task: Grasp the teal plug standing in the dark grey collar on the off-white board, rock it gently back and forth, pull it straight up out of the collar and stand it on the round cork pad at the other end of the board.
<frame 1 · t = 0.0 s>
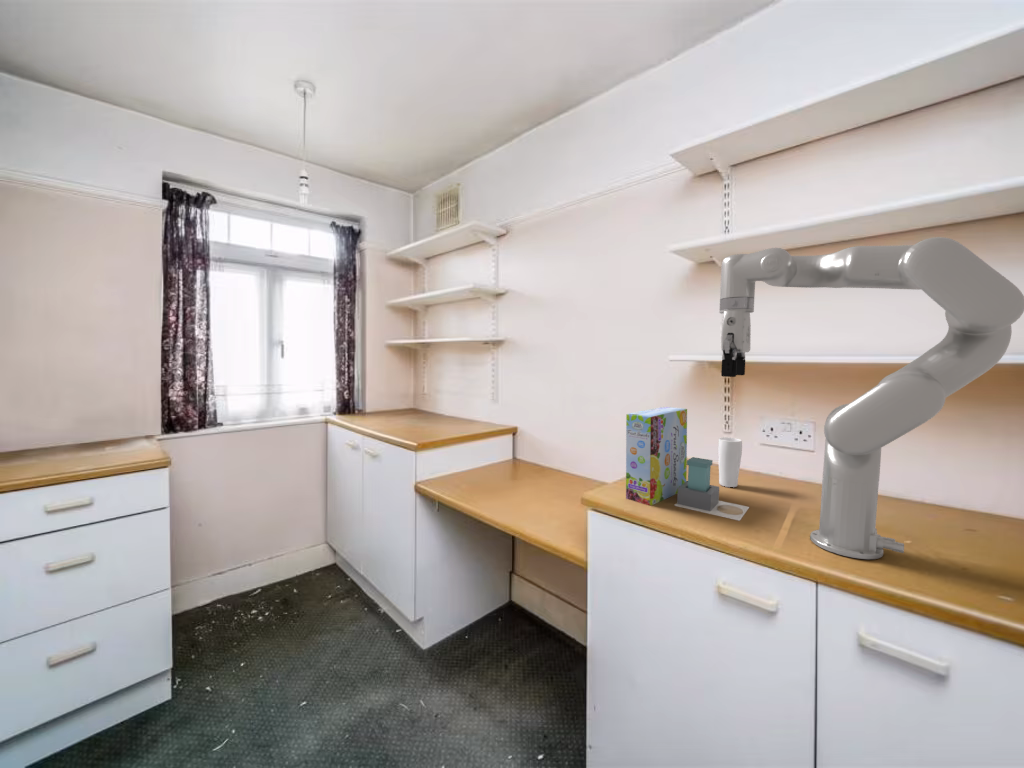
hand: (733, 375, 105), 37 cm above the table, tool pointing down, fingers open, 9 cm apart
drinking glass: (728, 486, 135), on the table
snack box: (656, 497, 124), on the table
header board: (711, 509, 114), on the table
plug: (698, 503, 116), point 1 cm above the table, touching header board
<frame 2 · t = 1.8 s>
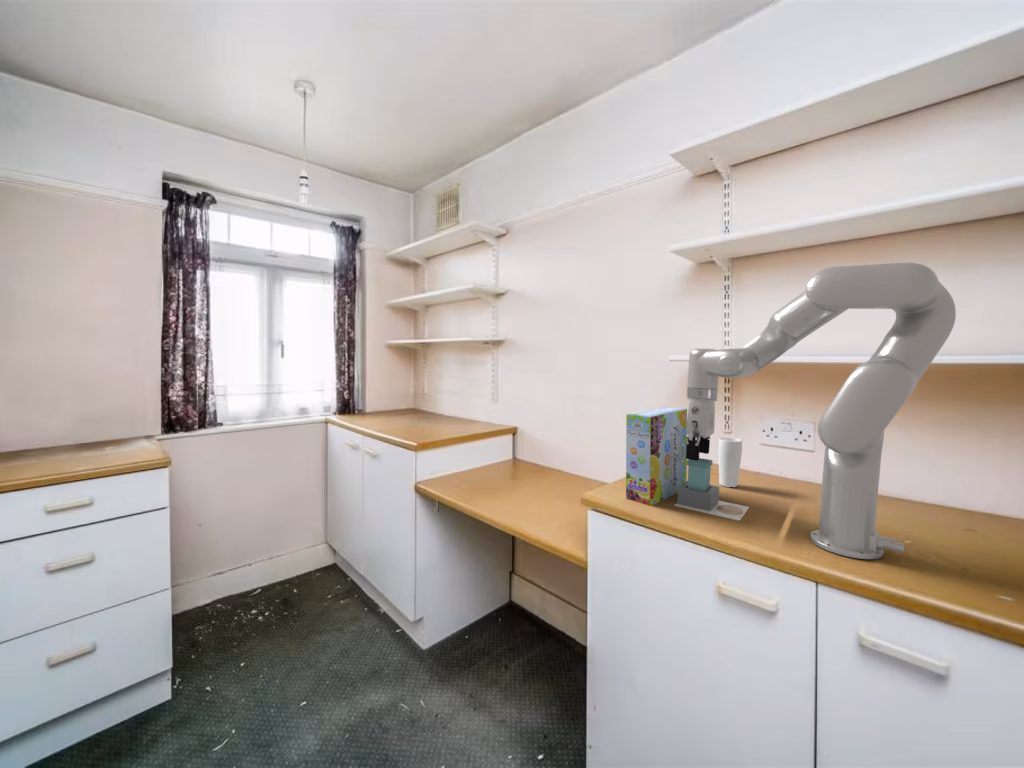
hand: (697, 456, 115), 14 cm above the table, tool pointing down, fingers open, 9 cm apart
nothing on the table moved.
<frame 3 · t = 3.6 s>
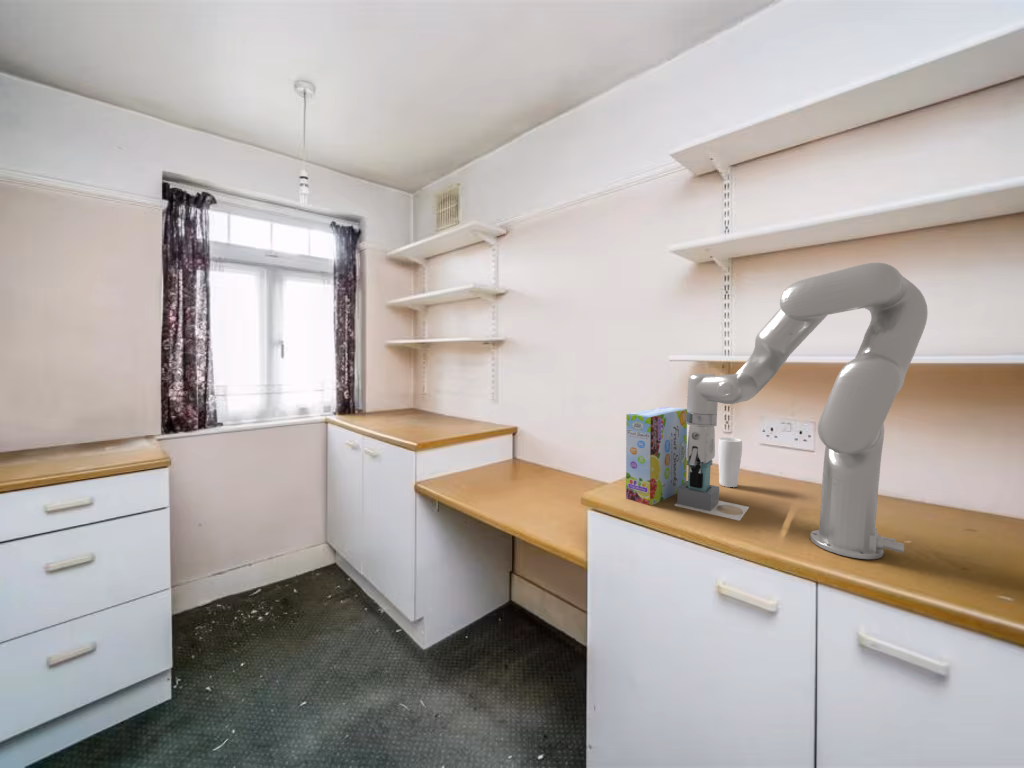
hand: (698, 484, 115), 6 cm above the table, tool pointing down, fingers closed on plug, 4 cm apart
plug: (698, 503, 116), point 1 cm above the table, touching gripper, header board
everything else where it was.
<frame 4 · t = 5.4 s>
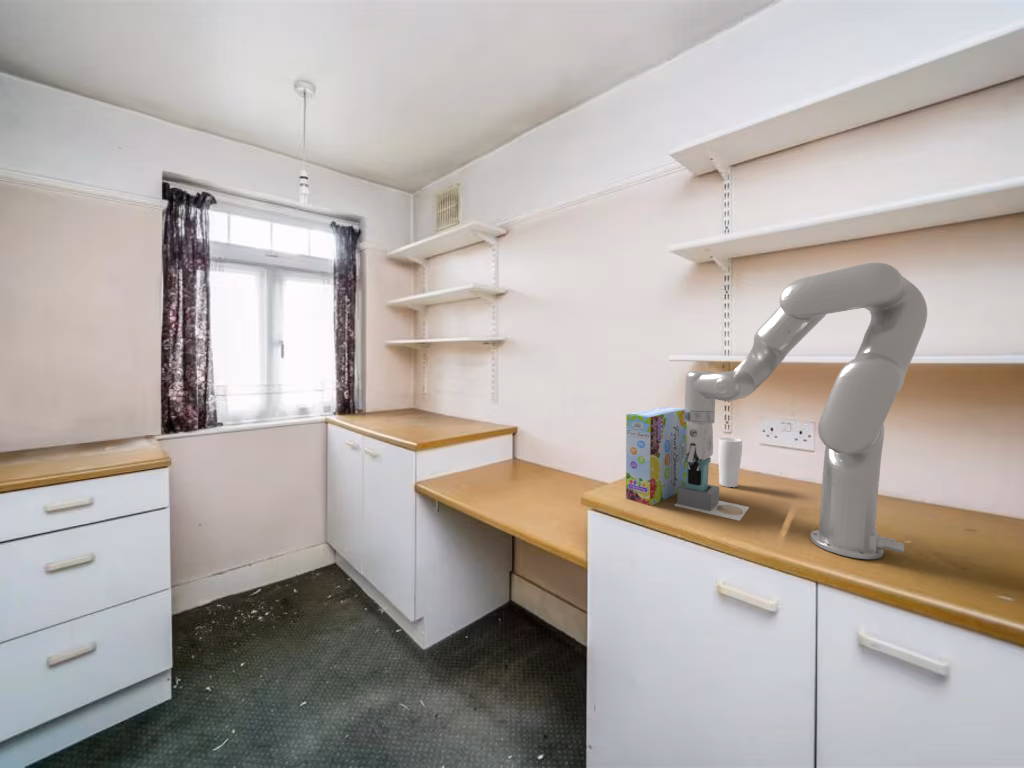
hand: (697, 481, 116), 7 cm above the table, tool pointing down, fingers closed on plug, 4 cm apart
plug: (696, 500, 116), point 2 cm above the table, touching gripper
everything else where it was.
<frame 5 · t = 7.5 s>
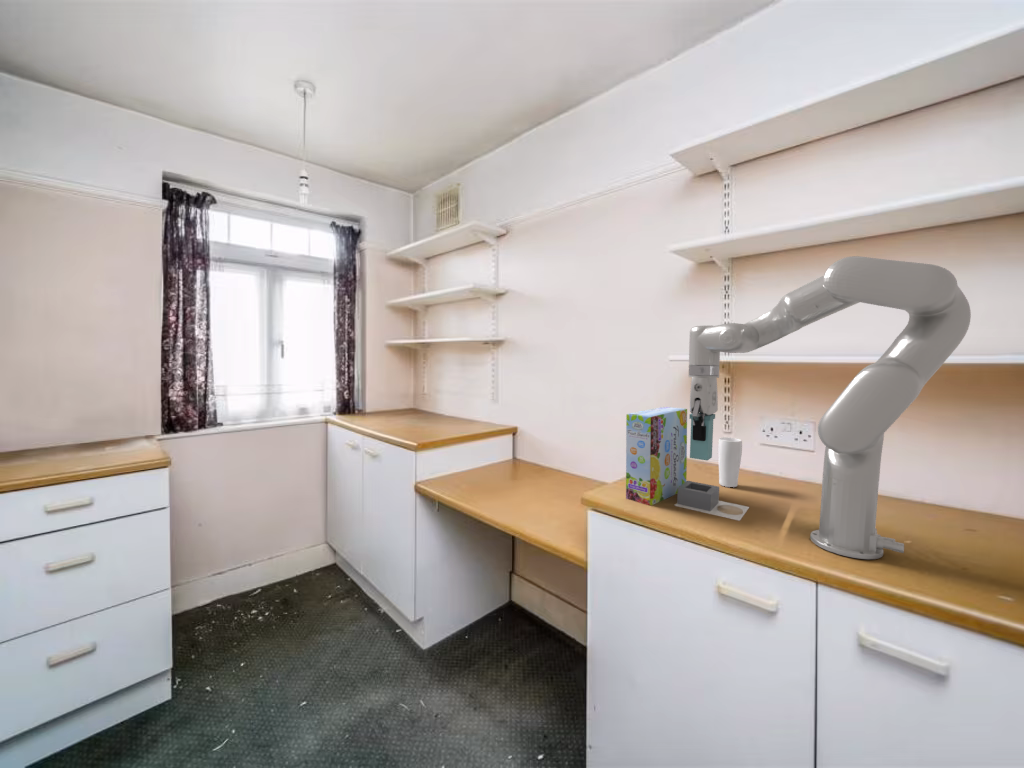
hand: (701, 438, 114), 19 cm above the table, tool pointing down, fingers closed on plug, 4 cm apart
plug: (700, 457, 115), point 14 cm above the table, touching gripper
everything else where it was.
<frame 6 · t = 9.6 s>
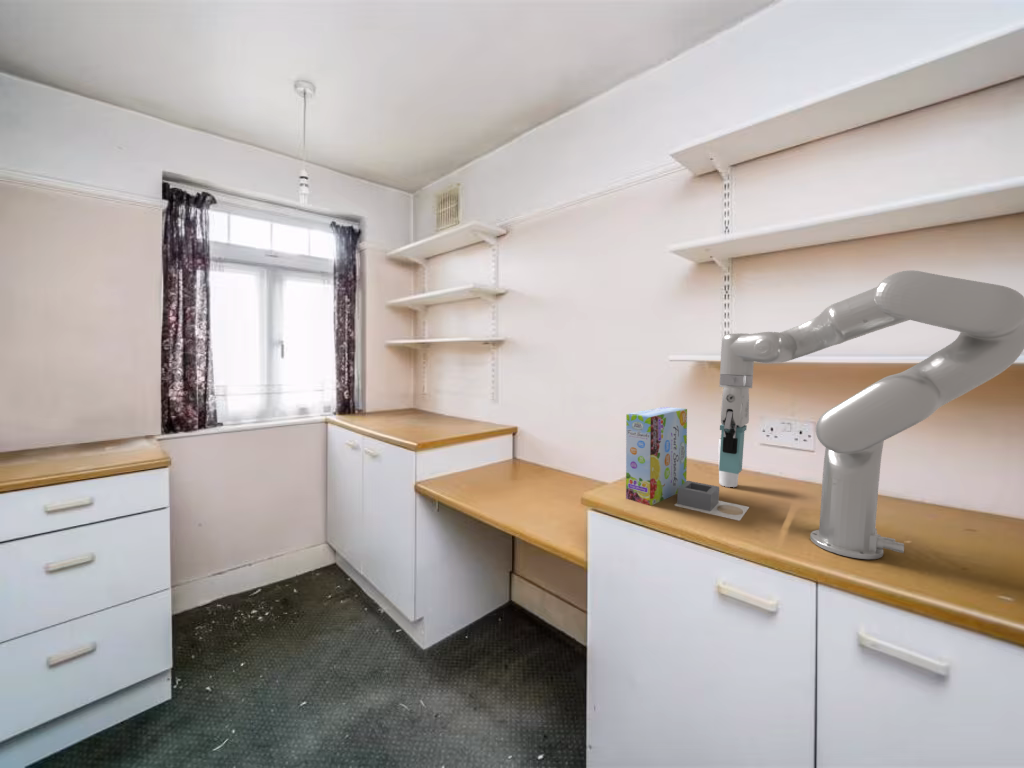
hand: (731, 450, 110), 17 cm above the table, tool pointing down, fingers closed on plug, 4 cm apart
plug: (730, 470, 110), point 12 cm above the table, touching gripper
everything else where it was.
when the fingers open (8 cm above the table, at t = 11.5 s): plug drops 1 cm, resting on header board.
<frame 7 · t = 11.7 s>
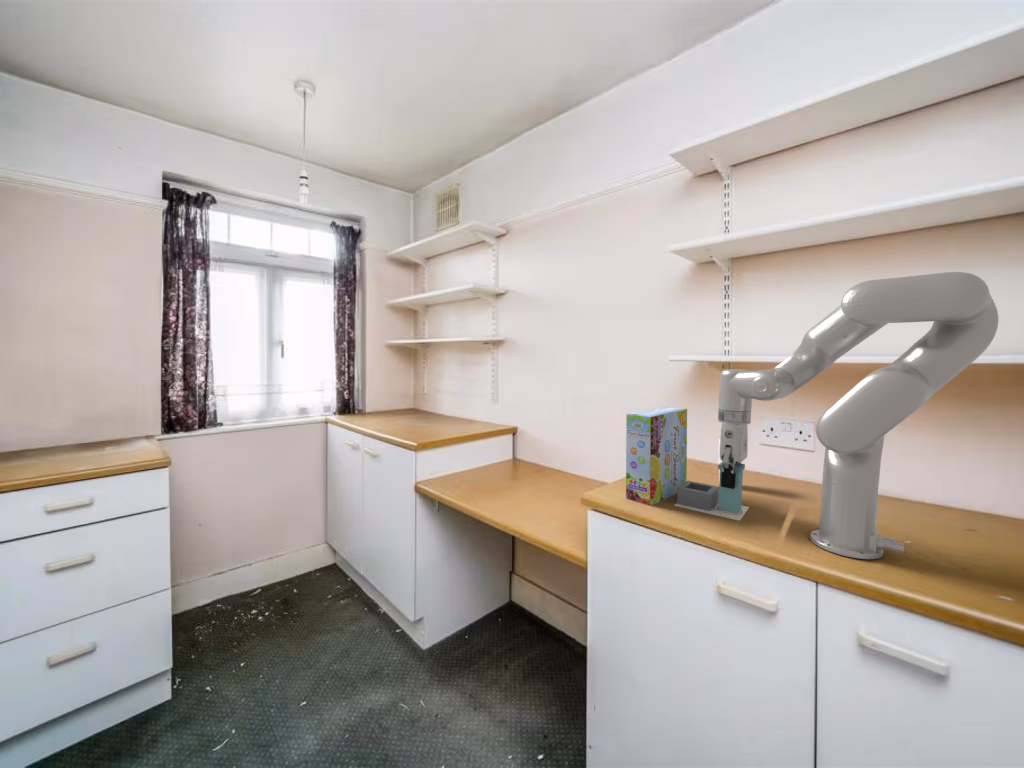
hand: (731, 483, 110), 8 cm above the table, tool pointing down, fingers open, 6 cm apart
plug: (729, 509, 111), point 1 cm above the table, touching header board
everything else where it was.
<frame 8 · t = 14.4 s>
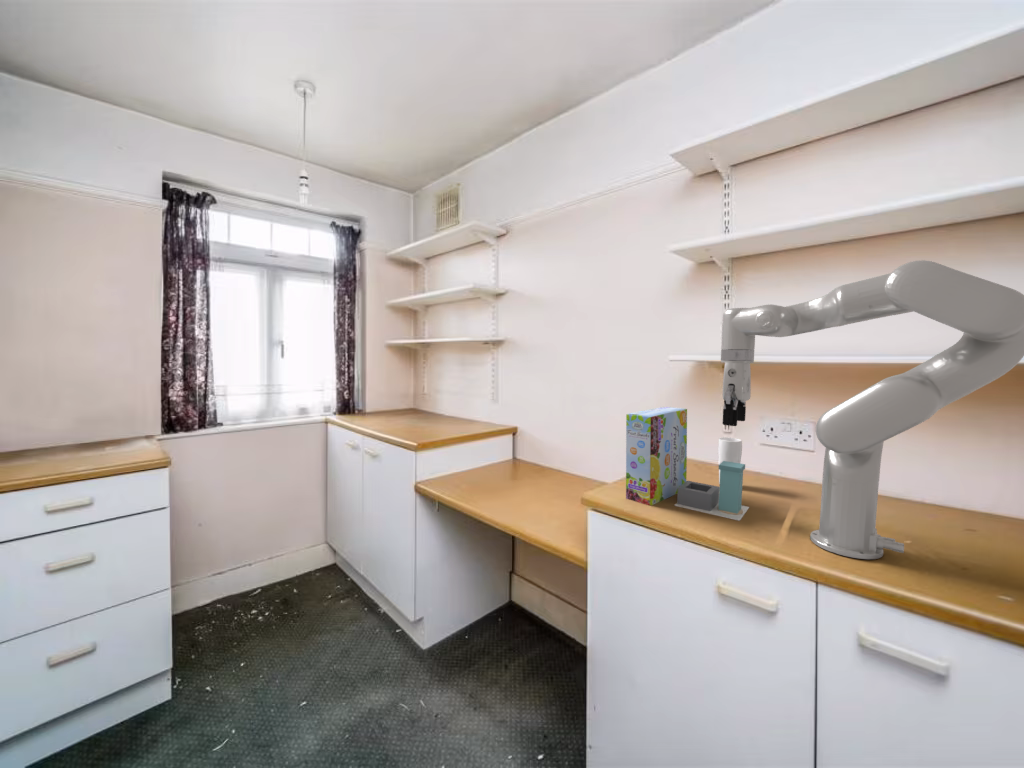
hand: (734, 422, 109), 24 cm above the table, tool pointing down, fingers open, 9 cm apart
nothing on the table moved.
at the end: plug 0.0 cm from the target spot on the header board, point 1.3 cm above the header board's base; plug tilted 0°; the gripper is holding nothing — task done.
